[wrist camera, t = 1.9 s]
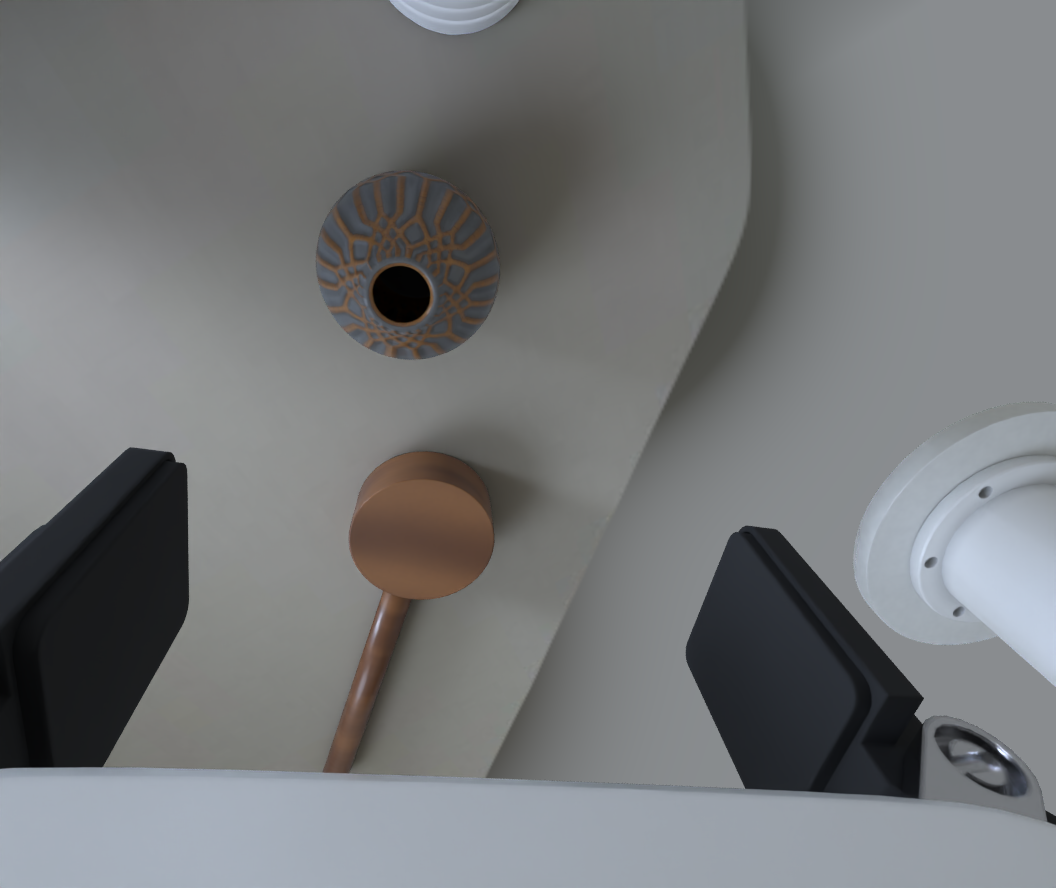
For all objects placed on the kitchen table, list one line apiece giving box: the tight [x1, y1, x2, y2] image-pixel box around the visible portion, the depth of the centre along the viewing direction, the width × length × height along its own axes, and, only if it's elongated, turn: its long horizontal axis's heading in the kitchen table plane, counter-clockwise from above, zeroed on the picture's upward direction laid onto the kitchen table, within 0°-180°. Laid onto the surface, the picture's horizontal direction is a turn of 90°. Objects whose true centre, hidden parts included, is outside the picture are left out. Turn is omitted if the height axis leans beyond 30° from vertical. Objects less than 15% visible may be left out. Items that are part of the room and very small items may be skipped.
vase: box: [316, 171, 500, 360], centre depth 23 cm, size 7×7×9 cm
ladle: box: [323, 452, 494, 774], centre depth 35 cm, size 24×7×3 cm, turn 160°
